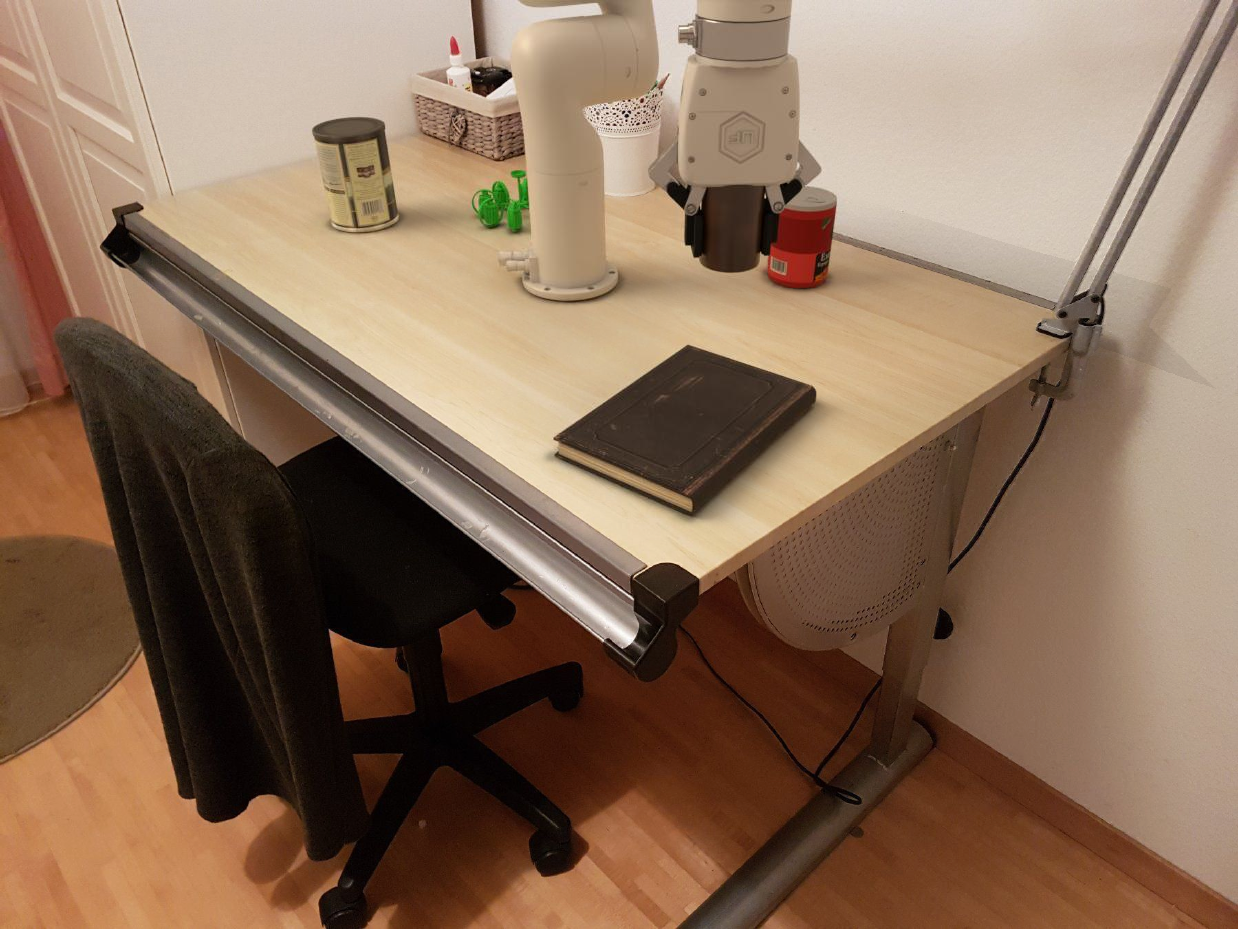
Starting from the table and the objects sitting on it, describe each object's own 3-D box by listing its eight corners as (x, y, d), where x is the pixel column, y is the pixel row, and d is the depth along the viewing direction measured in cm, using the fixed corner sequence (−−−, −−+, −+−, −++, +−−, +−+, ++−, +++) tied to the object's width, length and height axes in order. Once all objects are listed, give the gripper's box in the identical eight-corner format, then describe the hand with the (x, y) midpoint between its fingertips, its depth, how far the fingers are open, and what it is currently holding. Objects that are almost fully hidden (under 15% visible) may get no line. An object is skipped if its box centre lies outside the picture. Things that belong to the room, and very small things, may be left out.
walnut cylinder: (702, 274, 83) (706, 186, 78) (696, 250, 88) (699, 166, 83) (764, 272, 83) (771, 184, 79) (754, 248, 88) (760, 164, 83)
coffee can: (365, 204, 146) (349, 112, 138) (413, 216, 142) (399, 122, 134) (315, 224, 139) (296, 129, 131) (364, 237, 135) (347, 140, 127)
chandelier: (576, 201, 146) (574, 157, 142) (563, 236, 134) (561, 190, 130) (483, 199, 148) (479, 156, 144) (462, 234, 135) (457, 188, 131)
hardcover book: (554, 456, 88) (553, 436, 87) (687, 362, 103) (687, 344, 102) (693, 518, 80) (694, 497, 79) (815, 406, 95) (817, 387, 94)
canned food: (826, 291, 118) (837, 207, 112) (764, 286, 119) (771, 204, 113) (827, 267, 124) (837, 187, 118) (768, 263, 125) (775, 183, 119)
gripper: (638, 51, 71) (639, 270, 82) (858, 46, 72) (831, 264, 82) (633, 33, 77) (634, 238, 88) (836, 28, 78) (813, 233, 88)
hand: (729, 249), depth 85 cm, fingers closed on walnut cylinder, 5 cm apart
